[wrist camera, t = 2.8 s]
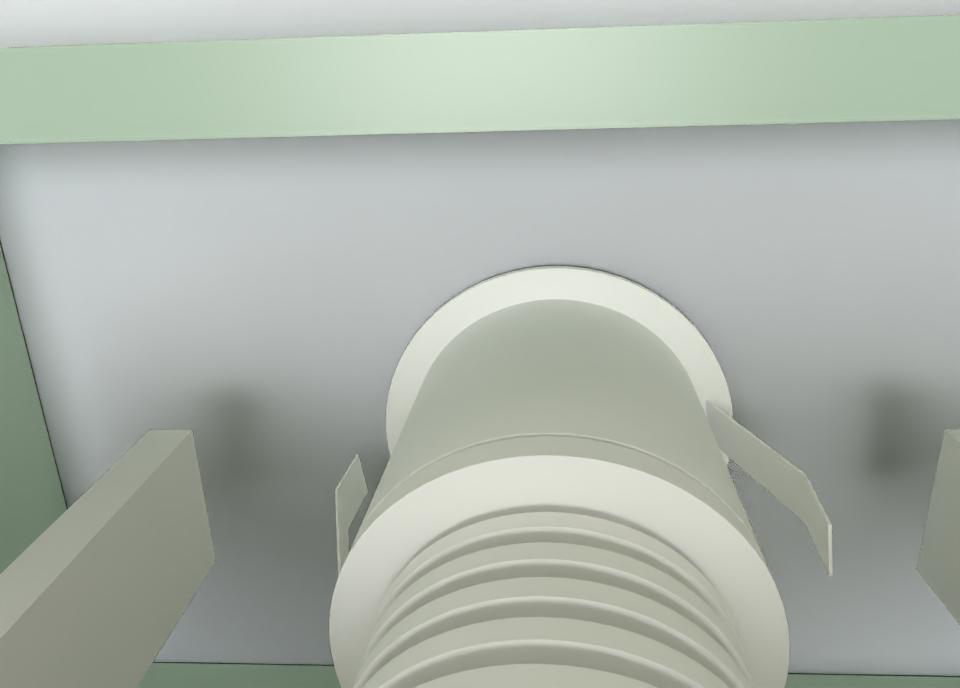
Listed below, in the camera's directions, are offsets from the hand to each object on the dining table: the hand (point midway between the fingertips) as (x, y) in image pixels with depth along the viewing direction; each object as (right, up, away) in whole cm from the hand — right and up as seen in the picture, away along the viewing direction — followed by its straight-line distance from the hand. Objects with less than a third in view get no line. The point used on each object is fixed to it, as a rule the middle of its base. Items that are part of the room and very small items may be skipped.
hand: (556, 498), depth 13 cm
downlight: (0, +1, +3) cm, 3 cm away
